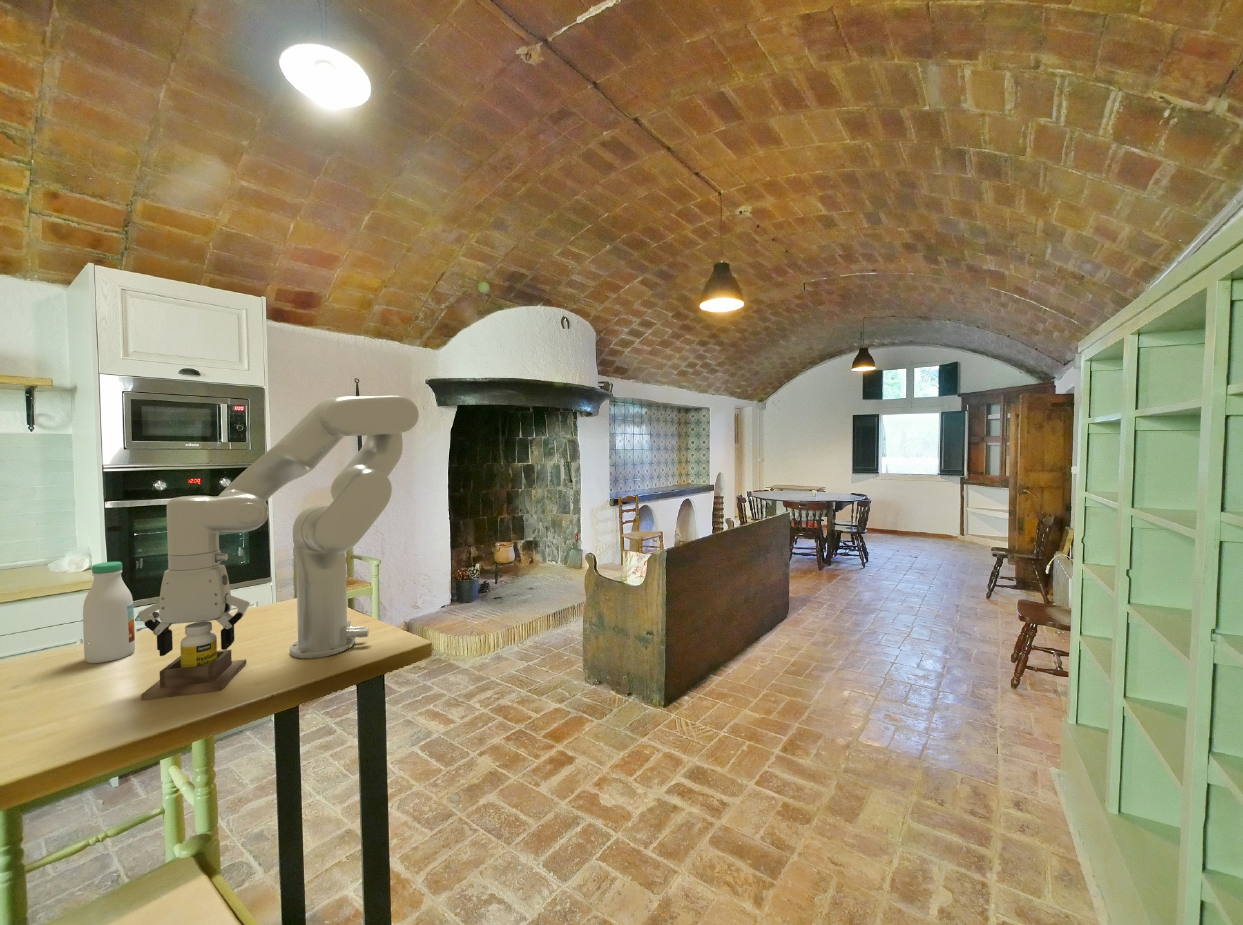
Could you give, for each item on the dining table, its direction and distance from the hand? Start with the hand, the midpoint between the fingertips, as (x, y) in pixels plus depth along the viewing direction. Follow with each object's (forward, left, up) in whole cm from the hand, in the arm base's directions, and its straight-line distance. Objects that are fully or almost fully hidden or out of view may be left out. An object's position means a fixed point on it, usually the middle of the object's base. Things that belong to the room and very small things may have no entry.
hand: (196, 650), depth 100 cm
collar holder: (0, 0, -6) cm, 6 cm away
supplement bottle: (0, 0, -5) cm, 5 cm away
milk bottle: (+23, -19, -6) cm, 30 cm away
